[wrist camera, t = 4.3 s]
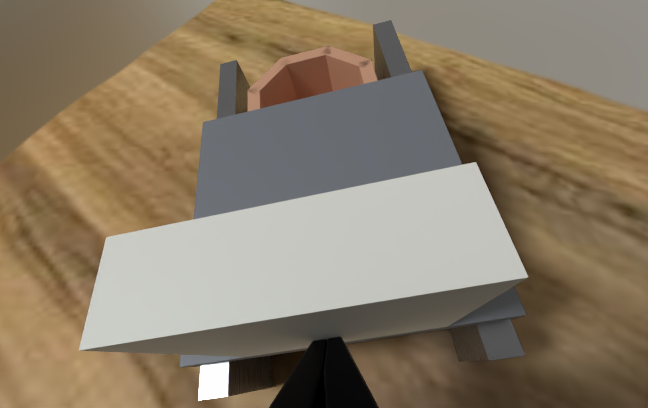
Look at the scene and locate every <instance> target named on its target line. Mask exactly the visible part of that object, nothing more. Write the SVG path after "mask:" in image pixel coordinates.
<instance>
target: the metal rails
mask: <svg viewBox="0 0 648 408" xmlns="http://www.w3.org/2000/svg"><path fill="white" fill-rule="evenodd" d="M373 35H374V58H375V74H376V77H377V81H378V80H382V79H386V78H391V77H395V76H399V75H403V74H407V73H412V71H411V69H410V66H409V64H408V61H407V59H406V56H405V54H404V51H403V49H402V46H401V44H400V41H399V39H398V36H397V34H396V31H395V29H394V26H393V24H392V21H391V20H390V21H386V22H382V23H378V24H375V25H373ZM249 88H250V86H249V84H248V82H247V80H246V78H245V76H244V74H243V72H242V70H241V68H240V66H239V64H238V62H237V60H235V61H231V62H228V63H224V64H221V65H220V81H219V96H218V111H217V119H219V118H223V117H227V116H232V115H236V114H240V113H244V112H248V91H247V90H248V89H249ZM450 332H451V336H452V339H453V342H454V345H455V349H456V352H457V355H458V359H459V361H490V360H498V359H505V358H512V357H520V356H525V354H524V351H523V349H522V346H521V344H520V341H519V339H518V336H517V334H516V331H515V329H514V326H513V324H512V321H511V319H510V320H503V321H497V322H490V323H483V324H477V325H470V326H463V327H457V328H450ZM271 387H272V376H271V355H270V356H263V357H256V358H250V359H243V360H236V361H230V362H223V363H216V364H210V365H203V366H201V368H200V383H199V398H198V401H199V400H206V399H213V398H221V397H228V396H233V395H237V394H242V393H247V392H252V391H256V390H261V389H266V388H271Z"/></svg>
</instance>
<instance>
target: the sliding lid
mask: <svg viewBox="0 0 648 408" xmlns="http://www.w3.org/2000/svg"><path fill="white" fill-rule="evenodd" d="M527 278H528V275H527V273H526V271H525V269H524V266H523V264H522V262H521V260H520V258H519V255H518V253H517V251H516V249H515V247H514V244H513V242H512V240H511V238H510V236H509V233H508V231H507V229H506V227H505V225H504V222H503V220H502V218H501V216H500V214H499V212H498V209H497V207H496V205H495V203H494V201H493V198H492V196H491V194H490V192H489V190H488V187H487V185H486V183H485V181H484V179H483V176H482V174H481V172H480V170H479V168H478V165H477V163H476V162H473V163H468V164H463V165H462V163H461V160H460V158H459V155H458V153H457V151H456V148H455V146H454V144H453V141H452V139H451V137H450V134H449V132H448V130H447V127H446V125H445V123H444V120H443V118H442V116H441V113H440V111H439V109H438V106H437V104H436V102H435V99H434V97H433V95H432V92H431V90H430V88H429V85H428V83H427V81H426V78H425V76H424V73H423V71H422V70H420V71H416V72H412V73H407V74H403V75H399V76H395V77H391V78H386V79H382V80H378V81H374V82H370V83H366V84H361V85H357V86H353V87H349V88H345V89H340V90H336V91H332V92H328V93H324V94H319V95H315V96H311V97H307V98H303V99H299V100H294V101H290V102H286V103H282V104H278V105H273V106H269V107H265V108H261V109H257V110H252V111H248V112H244V113H240V114H236V115H232V116H227V117H223V118H219V119H215V120H211V121H206V122H203V129H202V139H201V150H200V160H199V170H198V181H197V191H196V202H195V212H194V220H189V221H184V222H179V223H174V224H169V225H164V226H159V227H155V228H150V229H145V230H140V231H135V232H130V233H125V234H120V235H115V236H110V237H106V241H105V245H104V249H103V253H102V257H101V261H100V266H99V270H98V274H97V278H96V282H95V286H94V290H93V294H92V298H91V302H90V307H89V311H88V315H87V319H86V323H85V327H84V331H83V335H82V339H81V343H80V347H79V351H104V352H129V353H154V354H179V355H181V359H180V367H196V366H203V365H210V364H216V363H223V362H230V361H236V360H243V359H250V358H256V357H263V356H270V355H276V354H283V353H290V352H296V351H303V350H307V348H308V347H309V345H310V344H311V342H312V341H314V340H320V339H326V340H327V339H328V338H333V337H342V339H343V341H344V343H345V344H350V343H357V342H363V341H370V340H377V339H383V338H390V337H397V336H403V335H410V334H417V333H423V332H430V331H437V330H443V329H450V328H457V327H463V326H470V325H477V324H483V323H490V322H497V321H503V320H510V319H516V318H519V317H522V316H524V315H526V312H525V310H524V308H523V305H522V303H521V301H520V298H519V296H518V294H517V291H516V289H515V287H514V286H515V285H517V284H518V283H520V282H522V281H523V280H525V279H527Z"/></svg>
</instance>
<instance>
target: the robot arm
mask: <svg viewBox="0 0 648 408" xmlns="http://www.w3.org/2000/svg"><path fill="white" fill-rule="evenodd" d="M269 408H379V407H378V405H377V403H376V401H375V399H374V398H373V396H372V394H371V392H370V390H369V388H368V386H367V384H366V382H365V381H364V379H363V377H362V375H361V373H360V371H359V369H358V367H357V365H356V363H355V362H354V360H353V358H352V356H351V354H350V352H349V350H348V348H347V346H346V345H345V343H344V341H343V339H342V337H333V338H328V339H327V340H326V339H320V340H314V341H312V342H311V344H310V345H309V347H308V348H307V350H306V351H305V353H304V355H303V356H302V358H301V359H300V361H299V362H298V364H297V365H296V367H295V368H294V370H293V371H292V373H291V375H290V376H289V378H288V379H287V381H286V382H285V384H284V385H283V387H282V388H281V390H280V391H279V393H278V395H277V396H276V398H275V399H274V401H273V402H272V404H271V405H270V407H269Z"/></svg>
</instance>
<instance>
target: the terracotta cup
mask: <svg viewBox="0 0 648 408" xmlns="http://www.w3.org/2000/svg"><path fill="white" fill-rule="evenodd" d="M374 81H377V77H376V74H375V71H374V68H373V64H372V60H370V59H367V58H364V57H361V56H358V55H355V54H352V53H349V52H346V51H343V50H340V49H337V48H334V47H331V46H327V47H323V48H319V49H315V50H311V51H307V52H303V53H299V54H295V55H291V56H287V57H283V58H280V59H279V60H278V61H277V62H276V63H275V64H274V65H273V66H272V67H271V68H270V69H269V70H268V71H267V72H266V73H265V74H264V75H263V76H262V77H261V78H260V79H259V80H258V81H257V82H256V83H255V84H254V85H253V86H252V87H250V88H249V89H248V90H247V91H248V111H252V110H257V109H261V108H265V107H269V106H273V105H278V104H282V103H286V102H290V101H294V100H299V99H303V98H307V97H311V96H315V95H319V94H324V93H328V92H332V91H336V90H340V89H345V88H349V87H353V86H357V85H361V84H366V83H370V82H374Z"/></svg>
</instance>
